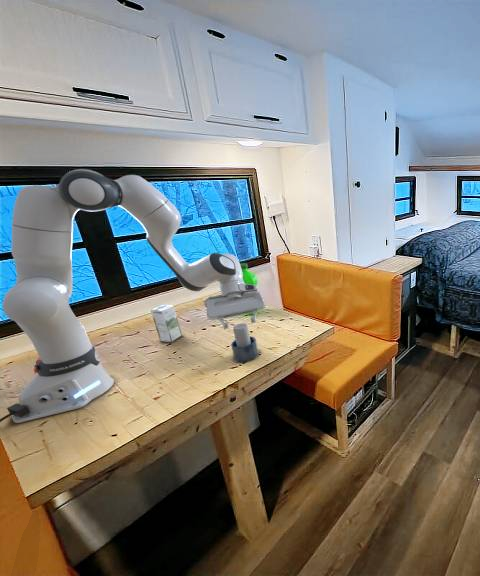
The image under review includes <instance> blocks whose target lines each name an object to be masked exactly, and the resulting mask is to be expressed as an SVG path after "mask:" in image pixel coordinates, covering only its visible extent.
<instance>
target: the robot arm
mask: <svg viewBox="0 0 480 576" xmlns="http://www.w3.org/2000/svg"><path fill="white" fill-rule="evenodd" d="M115 207H120V208H121V209H124V210H125V211H126V212H127V213H129V214H130V215H131V216H132V217H133V218H134V219H135V220H136V221H137V222H138V223H139V224H140V225H141V226H142V228H143V229H144V231H145V233H146V235H145V238H146V241H147V243H148V245H149V247H151V248H152V249H153V251H154V252H155V254H157V256H158V257H159V258H160V259H161V260H162V262H164V263H165V265H166V266H167V267H168V268H169V269H170V270H171V271H172V272H173V274H174V275H175V277H176V278H177V280H178V281H179V283H180V284H181V285H182V287H183V288H185V289H187V290H188V291H192V292H200V291H202V290H204V289H205V288H207V287H208V286H210V285H212V284H214V283H216V282H219V283H220V285H219V289H220V294H219V295H218V294H217V295H214V296H208V297H207V298H206V299H204V302H203V303H204V307H205V308H206V317H207V320H209V321H211V322H212V321H219V323H220V324H221V325H222V326H223V330H227V329H229V324H228V322H225V321H224V319H228V318H232V317H237V316H242V315H248V313H253V315H252V316H251V317H250V323H251V324H255V323H256V317H257V315H258V312H262V311H265V310H266V303H265V300H264V297H263V294H262V293H261V292H260V291H259V287H258V284H257V285H251V284H245V283H244V281H243V273H242V269H241V266H240V264H241V263H240V260H239V259H238V257H237V256H236V255H234V254H232V253H219V252H211V253H210V254H208V255H205V256H204V257H202V258H200V259H198V260H196V261H194V262H192V263H191V262H190V263H189V262H187V261H186V260H185V259H184V257H183V256H182V255H181V254H180V253H179V251H178V250H177V249H176V248H175V246H174V244H173V238H174V236H175V235H176V234H177V232H178V230H179V228H180V225H181V223H182V217H181V213H180V211H179V210H178V209H177V207H176V206H175V205H174V204H173V203H172V202H171V201H170V200H169V199H168V198H167V196H165V195H164V194H163V193H162V192H161V191H160V190H159V189H157V187H155V186H154V185H153V184H151V183H150V182H149V181H148V180H146V179H145V178H143V177H142V176H140V175H136V174H127V175H124V176H121V177H119V178H117V179H112V178H109V177H107V176H104V175H103V174H102V173H99V172H98V171H95V170H92V169H87V168H77V169H73V170H70V171H68V172H67V173H65V174H64V175H63V176H62V177H61V179H60V181H59V183H58V184H56V185H55V186H48V185H39V184H36V185H35V184H33V185H27V186H24V187H22V188H20V190H19V191H18V193H17V195H16V198H15V201H14V205H13V211H12V217H11V218H12V220H11V256H12V257H13V260H14V265H15V271H16V280H15V281H16V282H15V284H14V285H13V286H12V287H11V288H10V289H8V290H7V292H6V293H5V295H4V296H3V299H2V300H3V301H2V311H3V313H4V315H5V316H6V317H7V318H9V320H11V321H13V322H15V323H16V324H17V326H18V327H19V328H20V329H21V330H22V331H23V332H24V334H25V335H26V336H27V337H28V338H29V340H30V341H31V344H32V345H33V347H34V349H35V351H36V353H37V355H38V356H39V357H38V358H37V359H36V361H35V364H34V368H33V373H34V374H35V376H34V377H33V378H32V379H31V380H30V381H29V382H28V383H27V384H26V385H25V386H24V387H23V388H22V390H21V391H20V393H19V396H18V403H17V402H16V403H14V404H12V405H10V406H7V407H6V410H7V411H8V414H6V415H5V416H3V417H1V418H0V423H1V422H3V421H4V420H6V419H9V418H10V417H11V419H12V421H13V422H14V423H15V424H21V423H25V422H29V421H33V420H38V419H41V418H45V417H50V416H53V415H57V414H61V413H65V412H70V411H74V410H78V409H81V408H83V407H84V406H87V404H89V403H90V402H91V401H92V400H94V399H96V398H98V397H100V396H101V395H103V394H105V393H106V392H107V391H109V389H111V388H112V386H113V385H114V383H115V380H114V378H112V376H111V375H110V374H109V373H108V372H107V371H106V369H105V368H104V367H103V365H102V364H101V359H100V355H99V353H98V350H97V349H96V347H95V346H94V345H93V344H92V343H91V340H90V338H89V336H88V334H87V331H86V328H85V326H84V324H83V323H82V322H81V321H80V320H79V319H78V317H77V316H76V314H75V313H74V312H73V310H72V308H71V306H70V302H69V301H70V298H71V297H72V295H73V284H74V283H73V281H74V280H73V263H72V250H73V235H74V234H73V233H74V218H75V216H76V214H77V212H78V211H84V212H91V213H92V212H102V211H105V210H109V209H111V208H115Z"/></svg>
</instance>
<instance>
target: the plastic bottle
mask: <svg viewBox="0 0 480 576" xmlns="http://www.w3.org/2000/svg"><path fill="white" fill-rule="evenodd" d="M240 266H241V269H242V273H243V281H244V283H245V284H251V285H257V286H258V277H257V275H256V274H255V273H253V272H251V271H249V270H248V269H249V266H248V263H247V262H242V263H240ZM247 315H248V316H251V315H252V316H253V313H248V314H247Z"/></svg>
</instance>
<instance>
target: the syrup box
mask: <svg viewBox="0 0 480 576" xmlns="http://www.w3.org/2000/svg"><path fill="white" fill-rule="evenodd" d="M150 313H151V316H152V319H153V322H154V326H155V329H156V333H157V335H158V339H159V341H160V342H164V343H165V342H166V343H173V342H174V341H176V340H178V339H179V338H180V337H182V336H183V334H182V330H181V327H180V323H179V320H178V316H177V312H176V309H175V305H171V304H162V305H159V306H157V307H154V308H153V309H150Z"/></svg>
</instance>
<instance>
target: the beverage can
mask: <svg viewBox="0 0 480 576" xmlns="http://www.w3.org/2000/svg"><path fill="white" fill-rule="evenodd" d="M232 328H233V329H232V330H233V334H234V339H235V340H236V344H237V347H245V346H248V345H250V344H251V341H250V336H251V335H250V332H249V331H250V330H249V327H248V325H247V324H246V323H238V324H235V325H234V326H233V327H232Z"/></svg>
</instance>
